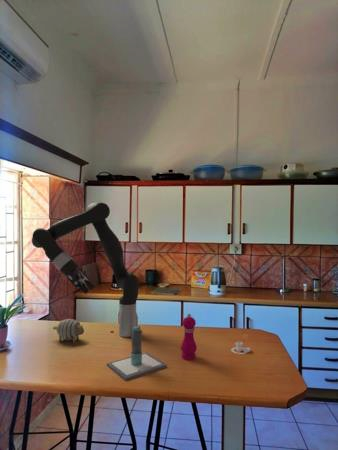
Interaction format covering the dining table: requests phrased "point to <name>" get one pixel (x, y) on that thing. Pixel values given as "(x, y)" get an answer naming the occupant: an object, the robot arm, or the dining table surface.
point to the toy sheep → (69, 330)
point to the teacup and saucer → (240, 348)
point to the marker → (136, 346)
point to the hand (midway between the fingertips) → (90, 290)
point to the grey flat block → (130, 371)
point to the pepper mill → (188, 339)
